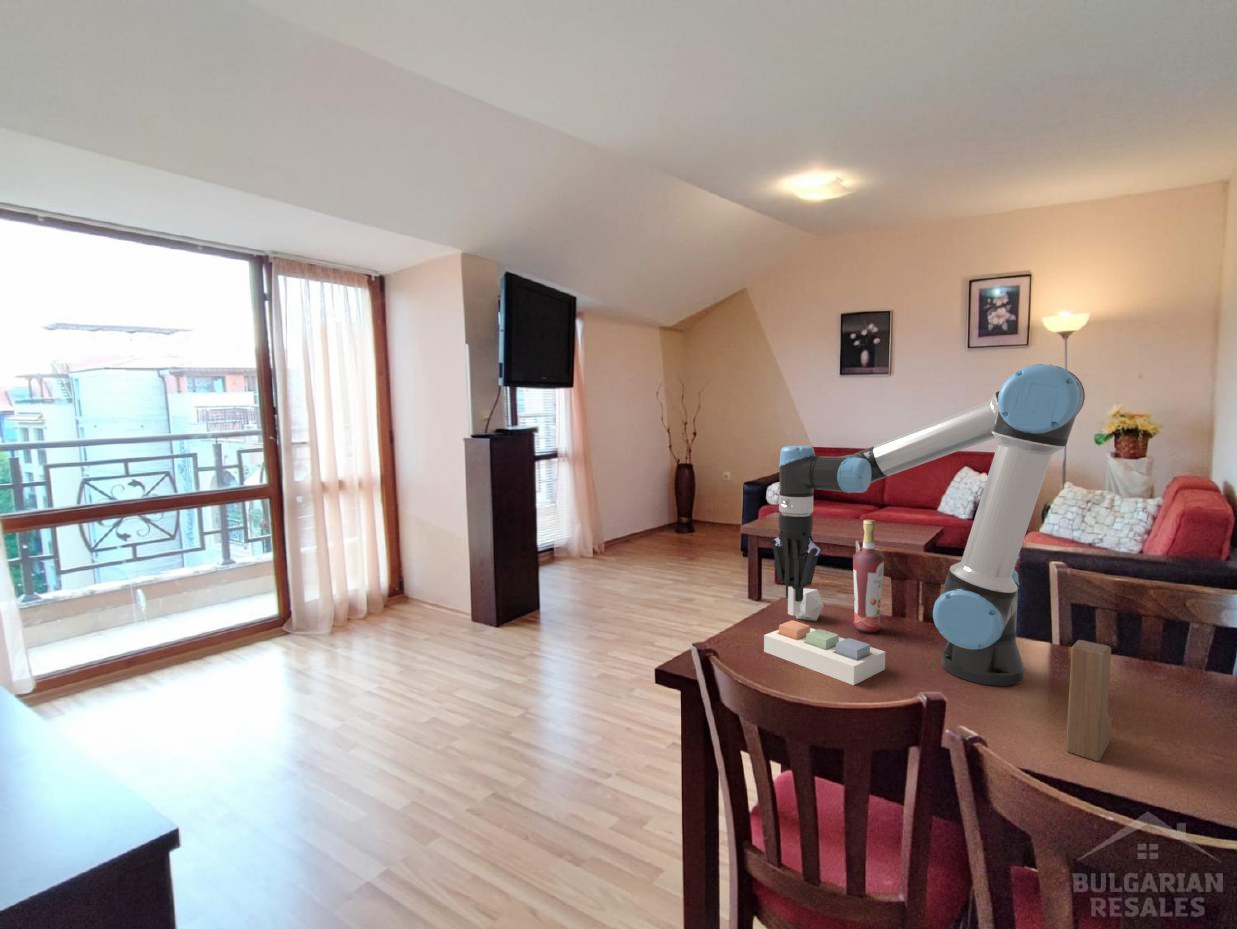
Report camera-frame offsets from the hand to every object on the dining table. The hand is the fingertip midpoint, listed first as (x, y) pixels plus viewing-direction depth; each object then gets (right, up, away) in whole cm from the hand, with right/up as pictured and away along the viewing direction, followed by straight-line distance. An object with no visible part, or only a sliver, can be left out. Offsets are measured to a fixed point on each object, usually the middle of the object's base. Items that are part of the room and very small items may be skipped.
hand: (794, 613), depth 147 cm
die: (+10, -7, +23) cm, 26 cm away
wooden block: (+37, -13, -42) cm, 57 cm away
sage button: (+5, -6, -5) cm, 10 cm away
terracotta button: (0, -6, 0) cm, 6 cm away
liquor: (+22, -7, +13) cm, 27 cm away
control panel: (+5, -9, -5) cm, 12 cm away
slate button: (+9, -7, -11) cm, 16 cm away
